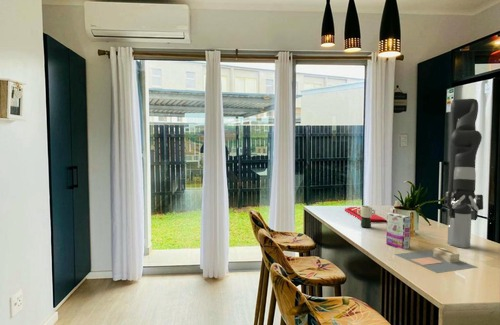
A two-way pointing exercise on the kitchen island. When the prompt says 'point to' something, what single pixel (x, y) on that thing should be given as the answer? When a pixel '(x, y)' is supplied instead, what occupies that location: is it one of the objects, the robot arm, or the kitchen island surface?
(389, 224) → the candy bar box
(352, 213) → the dish drying mat
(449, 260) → the maple deck block
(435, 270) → the rubber mat
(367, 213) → the character mug
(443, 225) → the kitchen island surface
